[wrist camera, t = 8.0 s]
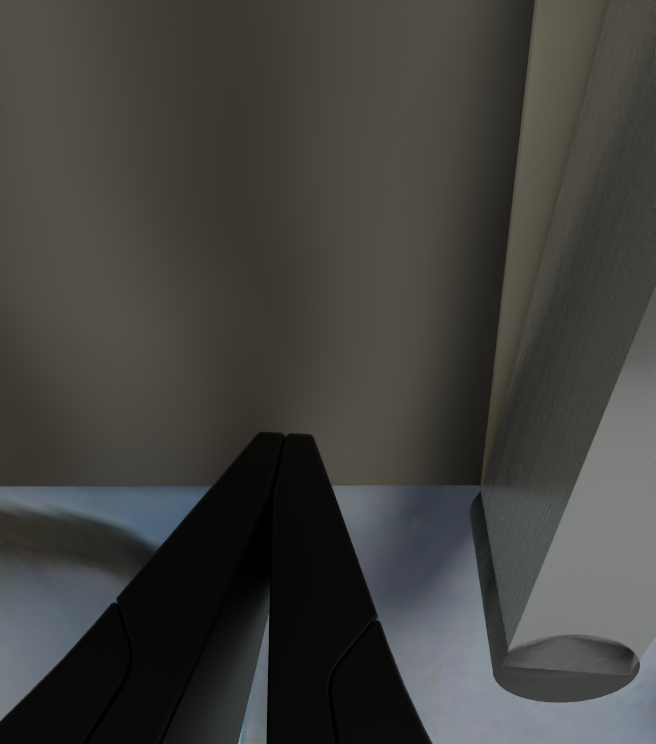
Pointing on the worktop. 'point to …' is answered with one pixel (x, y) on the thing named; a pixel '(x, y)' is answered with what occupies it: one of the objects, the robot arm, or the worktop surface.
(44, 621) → the worktop surface
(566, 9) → the wooden board
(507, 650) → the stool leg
